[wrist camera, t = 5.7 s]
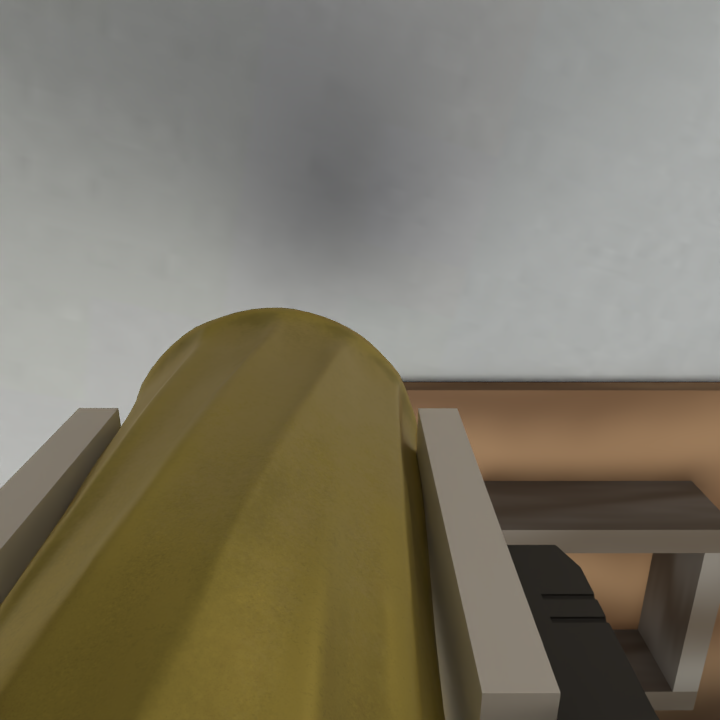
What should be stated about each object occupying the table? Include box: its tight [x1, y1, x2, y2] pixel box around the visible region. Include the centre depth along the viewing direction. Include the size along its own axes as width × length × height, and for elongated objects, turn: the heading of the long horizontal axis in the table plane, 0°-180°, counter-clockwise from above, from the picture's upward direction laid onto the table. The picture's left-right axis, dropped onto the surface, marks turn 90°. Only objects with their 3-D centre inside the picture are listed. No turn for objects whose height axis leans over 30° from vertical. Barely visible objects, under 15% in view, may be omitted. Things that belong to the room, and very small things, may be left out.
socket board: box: [403, 382, 720, 720], centre depth 32 cm, size 26×22×5 cm
